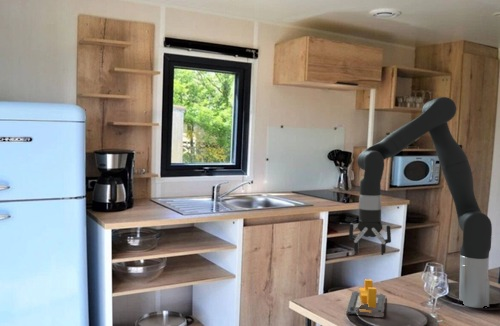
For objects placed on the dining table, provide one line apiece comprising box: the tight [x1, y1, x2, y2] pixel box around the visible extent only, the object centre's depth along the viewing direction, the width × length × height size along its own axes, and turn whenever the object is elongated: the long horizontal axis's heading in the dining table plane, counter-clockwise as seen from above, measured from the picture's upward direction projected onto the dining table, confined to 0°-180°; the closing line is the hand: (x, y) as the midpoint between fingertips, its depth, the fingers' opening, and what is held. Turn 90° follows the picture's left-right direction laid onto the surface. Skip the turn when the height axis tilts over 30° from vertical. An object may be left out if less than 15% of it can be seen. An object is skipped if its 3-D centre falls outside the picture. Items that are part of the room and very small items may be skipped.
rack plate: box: [346, 290, 386, 314], centre depth 164 cm, size 12×22×2 cm, turn 163°
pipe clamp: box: [358, 278, 377, 308], centre depth 165 cm, size 12×4×6 cm, turn 172°
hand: (369, 253), depth 164 cm, fingers open, 8 cm apart
